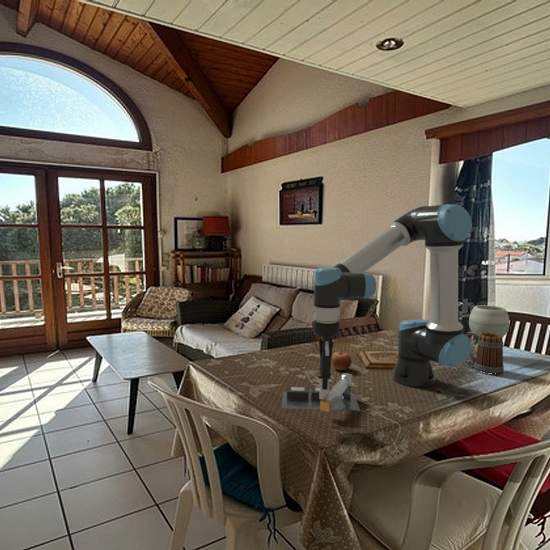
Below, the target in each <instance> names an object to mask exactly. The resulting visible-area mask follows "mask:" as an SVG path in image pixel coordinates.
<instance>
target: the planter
mask: <svg viewBox="0 0 550 550" xmlns="http://www.w3.org/2000/svg"><path fill="white" fill-rule="evenodd" d="M468 318H469V319H468V326H469V329H470V332H474V333H476V334H477V335H478V336H479V334H480V333H490V334H491V333H495V334H499V335H502V337H503V338H504V337H505V336H506V335H507V334H508V332H509V329H510V317H509V314H508V311H507V309H506V308H504V307H501V306H495V305H485V304H483V305H482V304H481V305H480V304H479V305H475V306H473V308H472V310H471V311H470V314H469V317H468ZM477 347H478V343H477V344H476V345H475V349H474V352H475V351H477Z"/></svg>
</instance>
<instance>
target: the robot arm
mask: <svg viewBox="0 0 550 550" xmlns="http://www.w3.org/2000/svg"><path fill="white" fill-rule="evenodd" d="M472 228H473V227H472V219H471V215H470V214H469V212H468V210H466V209H465V207H463V206H462V205H459V204H454V203H453V204H448V203H446V204H438V205H428V206H427V205H423V206H420V207H419V206H418V207H416V208H414V209H411V210H410V211H408V212H406V213H403V215H401V216H400V217H399V218H397V219H395V220H393V221H392V222H390V224H389V226H388V228H387V229H386V230H384V231H383V232H382V233H380V234H378V236H376V237H374V238H373V239H372V240H370V241H368V242H367V243H366V244H364V245H363V246H362V247H360V248H359V249H357V250H356V251H355V252H353V253H351V254H350V255H349V256H347V257H346V258H344V259H343V260H341V261H340V262H339V263H337V264H336V265H334V266H331V267H329V266H327V267H326V266H324V267H323V266H322V267H318V268H316V269H315V270H314V281H313V289H314V290H313V308H312V309H311V312H312V313H313V320H314V321H312V322H313V323H312V324H313V325H312V326H313V327H312V331H313V334H314V335H316V336H321V338H318V346H319V348H318V349H319V371H320V372H319V375H318V379H319V387H320V395H319V397H320V399H324V397H325V396H326V395H327V394H328V393H329V387H330V380H331V377H332V372H331V368H332V367H331V366H332V356H333V348H334V341H333V338H332V337H336V336H337V335H339V333H340V322H339V321H340V319H341V317H340V316H341V300H353V299H355V300H356V299H362V300H363V299H367V298H371V297H373V296H374V295H375V293H376V291H377V280H376V278H375V276H374V275H373V274H370V273H366V272H367V271H368V270H370V269H371V268H372V267H374V266H375V265H377V264H379V262H381V261H382V260H384V259H386V258H387V257H388V256H389V255H391V254H392V253H394V252H395V251H396V250H398V249H399V248H401V247H406V246H408V245H409V244H411V243H413V242H417V241H424V248H426V249H427V250H428V251H429V265H430V266H429V269H430V270H429V272H430V273H429V274H430V275H429V279H430V281H429V283H430V284H429V285H430V319H423V318H422V319H421V318H420V319H419V318H418V319H417V318H416V319H415V318H413V319H404V320H402V321H400V323H399V328H398V344H397V345H398V347H397V348H398V350H397V360H396V362H395V364H394V367H393V370H392V379H393V380H394V382H396V383H398V384H401V385H403V386H408V387H415V388H426V387H431V386H433V385H434V384H435V383H436V381H435V380H436V378H435V373H434V369H433V365H432V363H431V362H434V363H437V364H439V365H442V366H444V367H445V366H446V367H449V368H458V367H459V366H462V365H463V364H464V363H465V362H467V359H468V358H469V357H470V356H469V354H470V352H471V353H472V340H471V339H470V337H469V336H466V335H465V334H464V325H463V324H462V322H460V321H459V250H460V249H461V248H463V246H464V240H466V239H468V237H469V236H470V233H471V232H472Z"/></svg>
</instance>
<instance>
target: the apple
mask: <svg viewBox="0 0 550 550" xmlns="http://www.w3.org/2000/svg"><path fill="white" fill-rule="evenodd" d="M331 365H332V366H333V368H335V369H336V370H338V371H346V370H348V369H349V368H350V367H351V365H352V357H351V355H350V354H349V353H347V352H345V351H343V350H342V349H341V350H340V351H336V352H334V353H332V356H331Z"/></svg>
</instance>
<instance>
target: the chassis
mask: <svg viewBox="0 0 550 550" xmlns="http://www.w3.org/2000/svg"><path fill="white" fill-rule="evenodd" d="M320 401H321V400H312V399H311V391H310V392H309V400H305V399H287V391H282V399H281V409H286V410H289V409H292V410H293V409H294V410H318V411H321V410H320ZM330 411H354V412H355V411H357V412H358V411H359V412H360V411H361V409H360V406H359V404H358V401H357V398H356V396H355V393H352V386H350V387H347V388H346V390H345V391H344V392H343V393H342V395H341V396H340V397H339V399H338V400H337V401H336V402H335V404H334V405H333V406H332V407H331V410H330Z"/></svg>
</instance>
